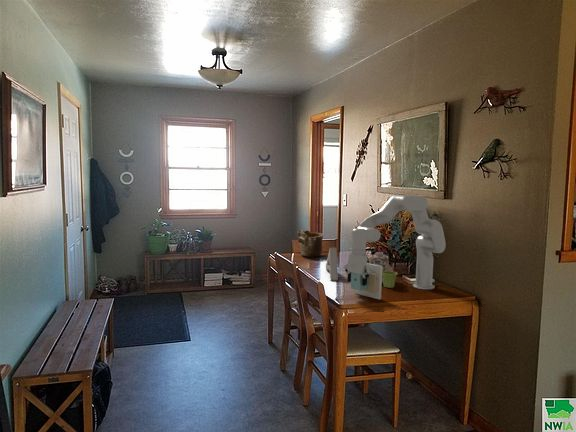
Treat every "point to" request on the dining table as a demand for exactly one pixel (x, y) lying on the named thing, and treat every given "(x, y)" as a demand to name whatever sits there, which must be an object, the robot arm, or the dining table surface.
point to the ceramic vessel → (310, 243)
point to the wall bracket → (332, 264)
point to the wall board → (373, 282)
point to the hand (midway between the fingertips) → (356, 283)
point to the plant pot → (389, 278)
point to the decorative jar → (380, 261)
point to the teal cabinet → (358, 282)
